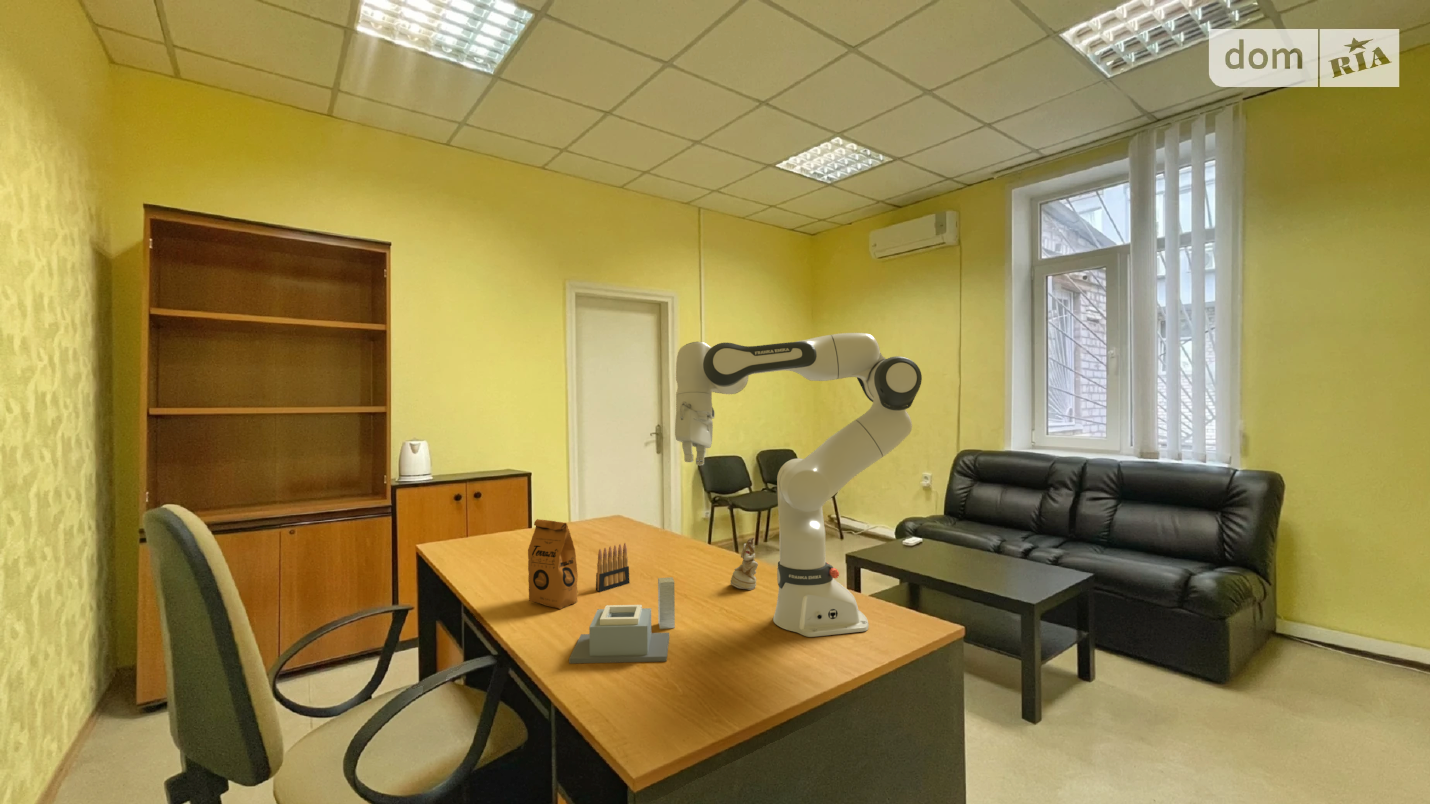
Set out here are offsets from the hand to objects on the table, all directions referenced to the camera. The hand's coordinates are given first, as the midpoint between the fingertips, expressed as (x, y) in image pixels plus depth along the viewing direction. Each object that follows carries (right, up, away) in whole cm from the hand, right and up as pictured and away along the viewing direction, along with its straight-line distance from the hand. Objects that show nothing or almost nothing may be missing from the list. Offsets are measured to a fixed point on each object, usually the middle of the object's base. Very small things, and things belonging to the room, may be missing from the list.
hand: (694, 463), depth 137 cm
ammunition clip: (-25, -39, +27) cm, 53 cm away
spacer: (-15, -32, -14) cm, 38 cm away
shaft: (-7, -39, -1) cm, 39 cm away
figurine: (+13, -39, +26) cm, 49 cm away
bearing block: (-15, -39, -14) cm, 44 cm away
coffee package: (-38, -39, +15) cm, 57 cm away
